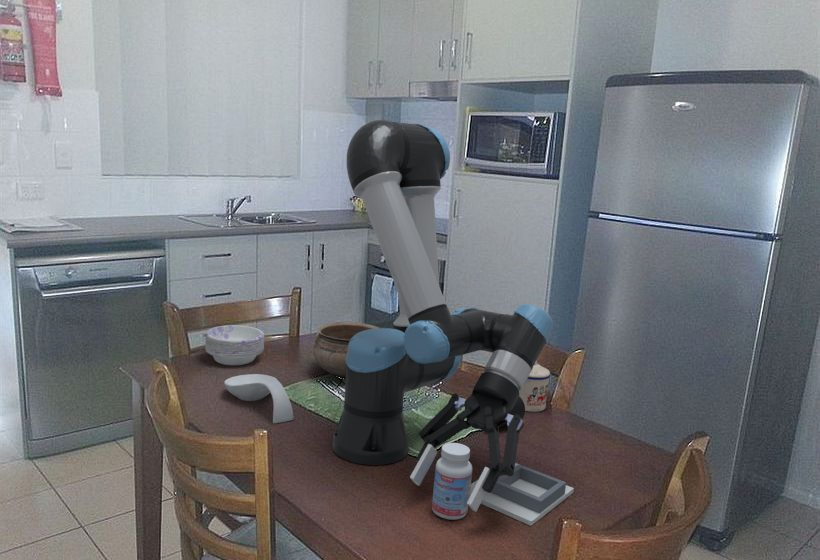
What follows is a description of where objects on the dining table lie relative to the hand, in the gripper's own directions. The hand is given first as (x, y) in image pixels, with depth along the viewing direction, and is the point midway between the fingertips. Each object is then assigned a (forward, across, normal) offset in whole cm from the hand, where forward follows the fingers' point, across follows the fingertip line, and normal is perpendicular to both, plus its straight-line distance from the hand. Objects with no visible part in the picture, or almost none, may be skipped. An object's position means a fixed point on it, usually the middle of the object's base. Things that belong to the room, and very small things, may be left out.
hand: (442, 494), depth 108 cm
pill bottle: (+1, 0, -5) cm, 5 cm away
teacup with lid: (-39, +15, -45) cm, 61 cm away
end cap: (-26, +14, -32) cm, 43 cm away
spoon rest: (-4, +57, -10) cm, 58 cm away
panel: (-9, -5, -15) cm, 18 cm away
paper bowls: (-14, +86, -20) cm, 89 cm away
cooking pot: (-24, +58, -31) cm, 70 cm away
